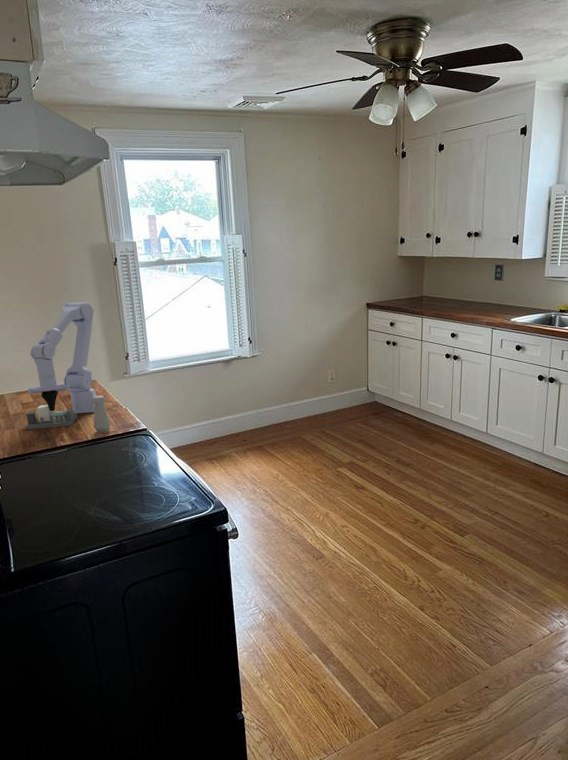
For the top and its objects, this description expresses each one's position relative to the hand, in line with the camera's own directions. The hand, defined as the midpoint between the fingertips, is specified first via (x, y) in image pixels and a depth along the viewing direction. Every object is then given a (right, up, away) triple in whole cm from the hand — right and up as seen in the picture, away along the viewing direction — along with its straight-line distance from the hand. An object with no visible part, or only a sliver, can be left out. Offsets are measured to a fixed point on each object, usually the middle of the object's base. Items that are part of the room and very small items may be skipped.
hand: (52, 410), depth 205 cm
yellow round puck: (-5, -4, 0) cm, 7 cm away
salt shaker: (+23, -7, -12) cm, 27 cm away
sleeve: (-3, -4, +1) cm, 5 cm away
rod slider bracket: (-1, -5, +1) cm, 5 cm away
